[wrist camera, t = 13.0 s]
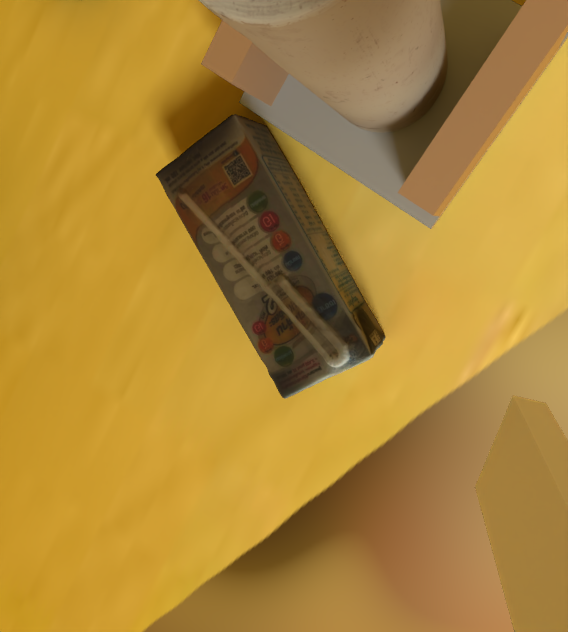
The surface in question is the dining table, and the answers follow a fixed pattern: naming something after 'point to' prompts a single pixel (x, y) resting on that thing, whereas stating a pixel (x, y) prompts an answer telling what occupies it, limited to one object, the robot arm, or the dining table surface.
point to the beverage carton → (271, 255)
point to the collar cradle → (432, 128)
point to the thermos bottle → (352, 52)
